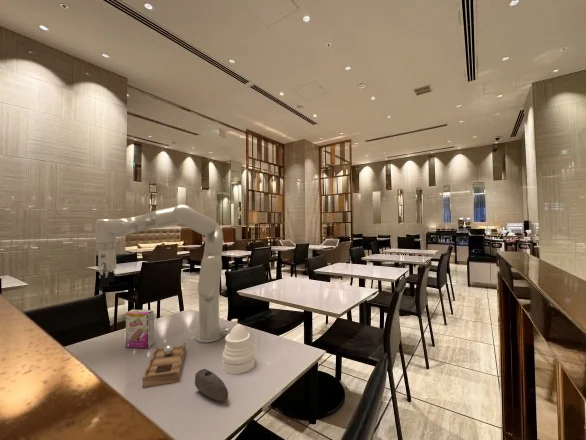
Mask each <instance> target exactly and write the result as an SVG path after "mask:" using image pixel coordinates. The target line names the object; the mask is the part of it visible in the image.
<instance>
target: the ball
mask: <svg viewBox="0 0 586 440" xmlns="http://www.w3.org/2000/svg"><path fill="white" fill-rule="evenodd" d="M174 347H175V346H173V345H172V344H166V345H165V346H164V347H163V348H164V350H163V352H164V354H165V355H170V354H172V353H173V351H174Z"/></svg>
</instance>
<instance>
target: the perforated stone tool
mask: <svg viewBox="0 0 586 440" xmlns="http://www.w3.org/2000/svg"><path fill="white" fill-rule="evenodd" d="M194 385H195V388H196V389H197V390H198V391H199V392H200V393H201V394H203V395H204V396H206V397H208V398H210V399H212V400H214V401H217V402H226V401H227V400H228V398H229V391H228V388H227V386H226V384H225V382H224V381H223V380H222V379H221V377H219V376H218V375H216V374H215V373H214V372H213V371H211V370H209V369H206V368H203V369H199V370H198V371H196V372H195V375H194Z"/></svg>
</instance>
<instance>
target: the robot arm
mask: <svg viewBox="0 0 586 440" xmlns="http://www.w3.org/2000/svg"><path fill="white" fill-rule="evenodd" d="M180 224H181V225H182V226H184V227H187V228H189V229H190V230H192V231H194V232H196V233H198V234H200V235H203V236H205V241H204V242H205V243H204V251H203V256H202V258H201V259H202V260H201V262H200V270H199V277H198V282H197V283H198V284H197V293H198V322H199V323H198V324H199V325H198V328H199V329H198V331H199V332H198V334H196V336H195V340H196V341H197V342H198V343H203V344H205V343H213V342H217V341H218V340H220V339H221V338H222V337H223V334H224V333H227V334H228V333H230V332H229V331H230V330H229V328H227V327H226V326H224V327H221V326H220V325H221V324H220V300H219V299H220V298H219V297H220V296H219V294H220V292H219V290H220V285H221V284H220V282H221V277H222V270H223V261H222V255H223V247H224V246H223V244H224V234H223V230H222V228H221V226H220V224H219V223H218V222H217V221H215V220H214V219H213V218H212V217H209V216H207V215H205V214H203V213H201V212H199V211H198V210H195V209H194V208H192V207H191V206H189V205H187V204H184V203H183V204H178V205H175V206H172V207H166V208H161V209H156V210H153V211H151V212H149V213H145V214H141V215H137V216H132V217H121V218H98V219H97V220H95V243H96V244H95V248H96V249H95V250H96V251H98V253H97V257H98V258H97V261H98V262H97V266H98V268H97V269H98V270H97V271H98V272H99V273H98V274H99V275H98V279H99V281H98V283H99V288H106V287H109V283H110V282H115V279H116V278H115V270H116V269H117V256H116V255H117V253H116V250H117V235H121V236H126V235H129V234H133V233H134V234H135V233H138V232H143V231H148V230H151V229H152V230H153V229H155V230H156V229H161V228H166V227H171V226H175V225H180Z"/></svg>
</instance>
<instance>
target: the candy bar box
mask: <svg viewBox="0 0 586 440" xmlns="http://www.w3.org/2000/svg"><path fill="white" fill-rule="evenodd" d="M124 314H125V317H124V318H125V348H129V349H131V348H132V349H150V348H151V347H152V346H153V345H154V344H155V327H154V326H155V323H154V320H155V318H154V315H155V314H154V310H151V309H131V310H129V311H126V312H125V313H124Z"/></svg>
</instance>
